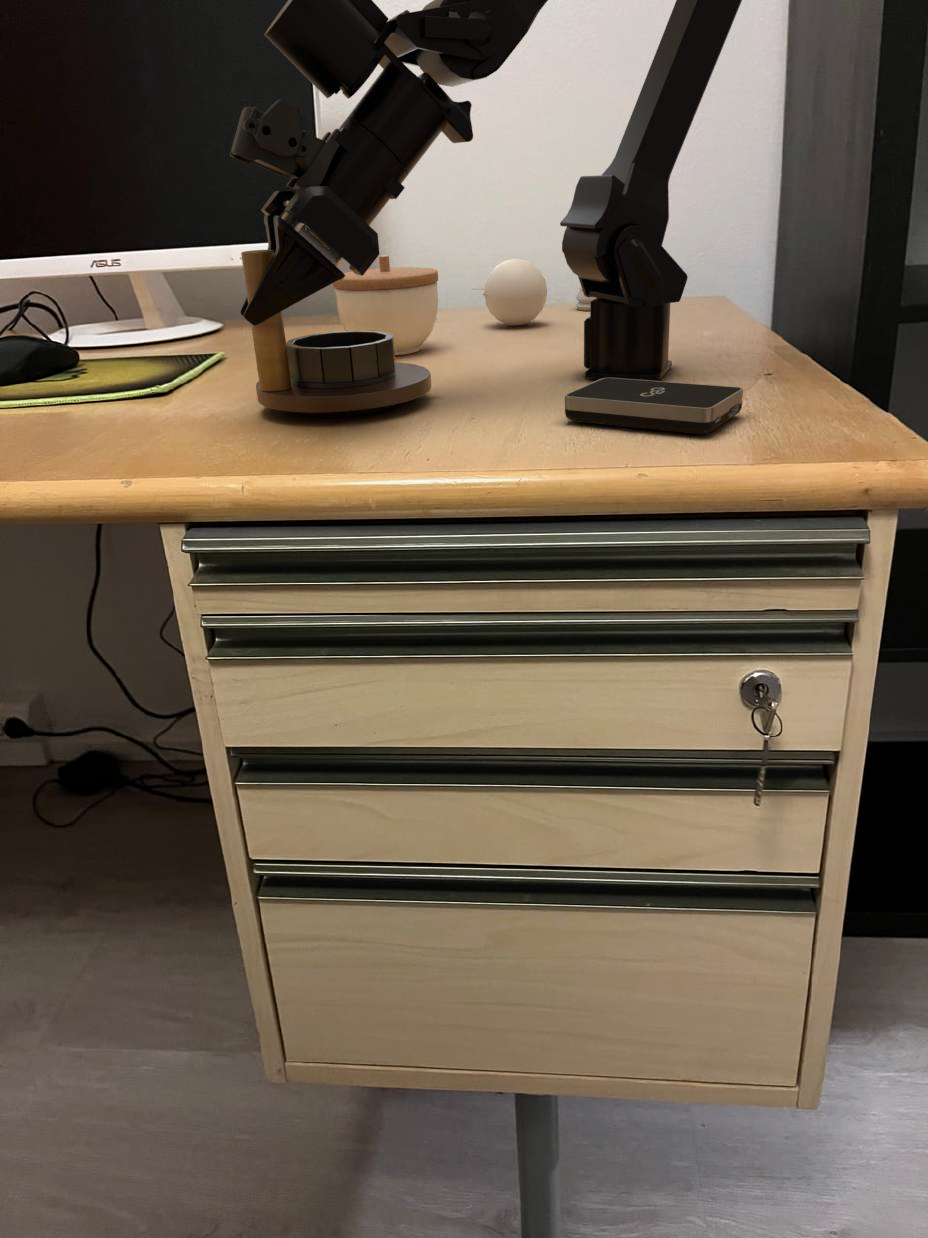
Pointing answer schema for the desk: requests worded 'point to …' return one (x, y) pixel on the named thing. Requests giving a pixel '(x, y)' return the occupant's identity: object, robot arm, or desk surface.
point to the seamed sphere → (515, 292)
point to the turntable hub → (347, 412)
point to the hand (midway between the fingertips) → (246, 319)
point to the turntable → (326, 363)
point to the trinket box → (390, 303)
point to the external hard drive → (654, 404)
